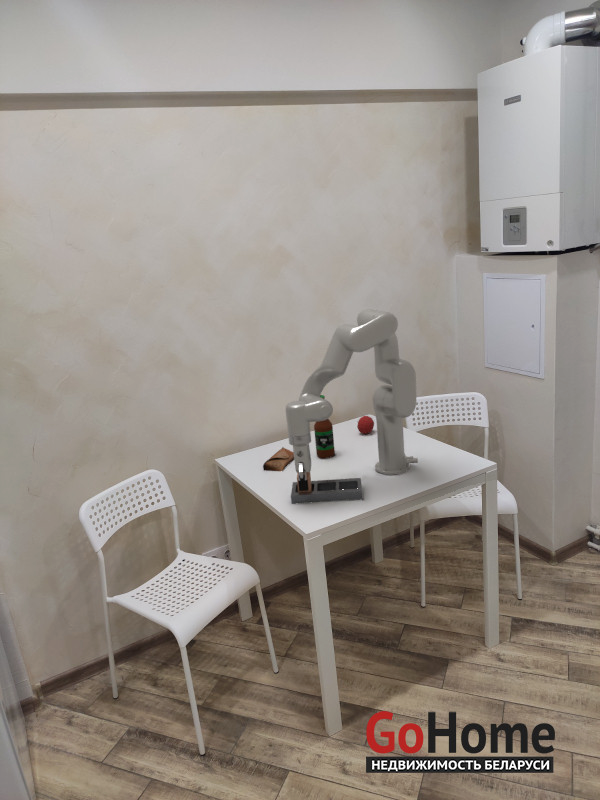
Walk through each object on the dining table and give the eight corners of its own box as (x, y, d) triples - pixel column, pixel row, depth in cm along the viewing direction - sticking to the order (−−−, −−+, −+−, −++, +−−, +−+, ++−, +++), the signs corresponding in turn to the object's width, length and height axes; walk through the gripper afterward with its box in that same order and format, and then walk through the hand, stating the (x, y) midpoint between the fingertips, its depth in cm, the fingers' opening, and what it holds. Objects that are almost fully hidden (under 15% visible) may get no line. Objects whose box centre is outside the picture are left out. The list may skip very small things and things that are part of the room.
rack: (361, 485, 215) (360, 477, 214) (362, 499, 205) (362, 491, 204) (293, 489, 217) (292, 482, 216) (291, 503, 207) (290, 495, 206)
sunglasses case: (283, 471, 233) (273, 457, 233) (269, 479, 237) (260, 465, 236) (300, 454, 249) (291, 440, 249) (288, 461, 253) (279, 448, 252)
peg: (312, 492, 213) (310, 471, 211) (311, 498, 209) (309, 476, 207) (299, 493, 214) (297, 472, 211) (299, 499, 210) (296, 477, 207)
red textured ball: (374, 414, 261) (358, 410, 265) (366, 429, 258) (350, 424, 262) (378, 424, 268) (362, 419, 271) (370, 439, 265) (355, 434, 268)
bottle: (314, 458, 243) (309, 398, 236) (319, 451, 250) (313, 393, 243) (332, 459, 241) (327, 398, 234) (336, 452, 248) (331, 393, 241)
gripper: (309, 446, 197) (314, 494, 202) (311, 428, 213) (316, 473, 218) (286, 448, 197) (292, 496, 202) (290, 430, 214) (295, 474, 219)
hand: (304, 484), depth 210 cm, fingers open, 9 cm apart
